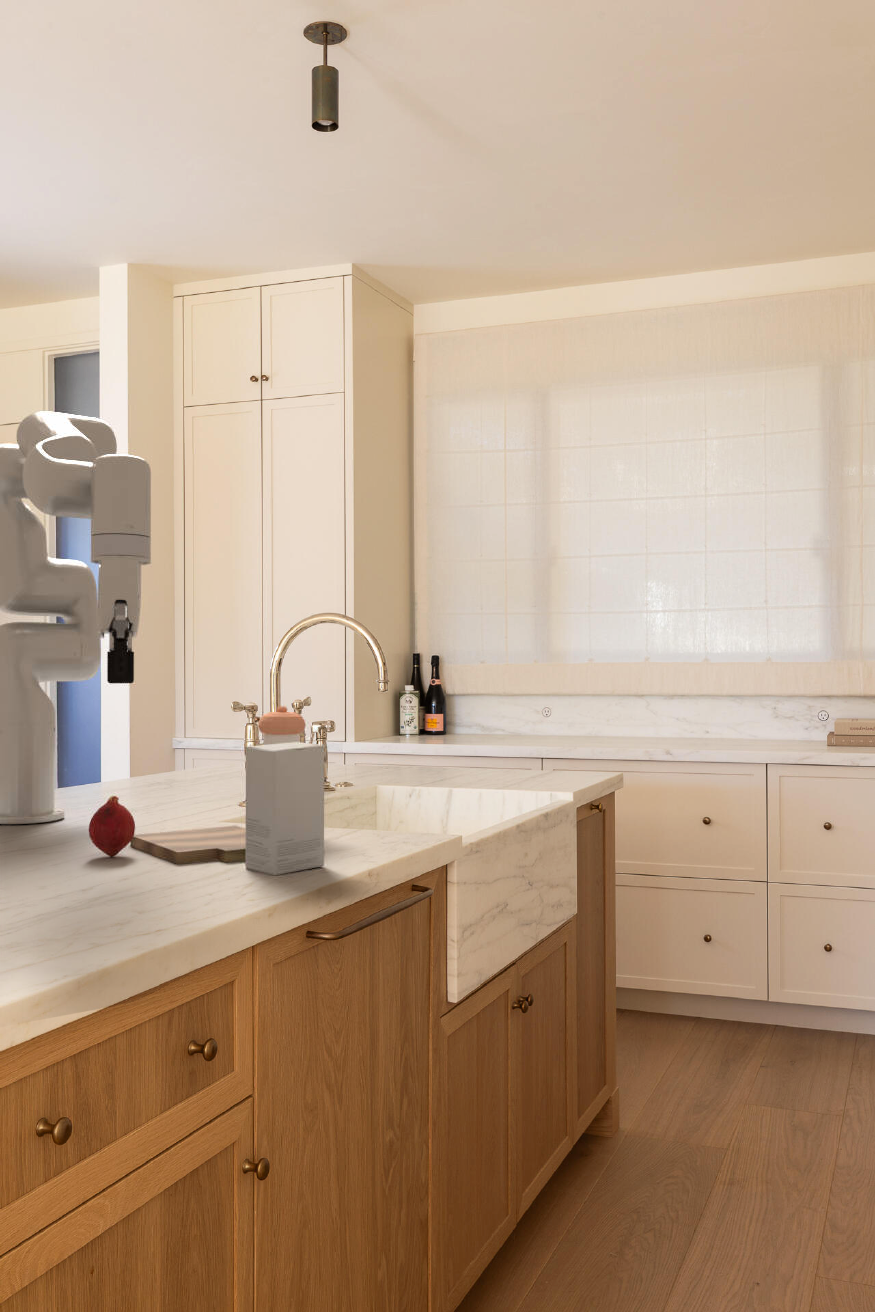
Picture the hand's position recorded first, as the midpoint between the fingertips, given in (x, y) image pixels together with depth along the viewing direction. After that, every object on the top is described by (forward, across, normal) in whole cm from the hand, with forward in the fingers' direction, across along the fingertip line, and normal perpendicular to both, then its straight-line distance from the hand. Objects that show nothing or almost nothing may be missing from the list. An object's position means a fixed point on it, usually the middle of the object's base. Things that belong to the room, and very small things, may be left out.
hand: (120, 683), depth 143 cm
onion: (+23, -3, -1) cm, 23 cm away
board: (+23, -5, +12) cm, 26 cm away
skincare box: (+24, +10, +20) cm, 32 cm away
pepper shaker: (+23, -16, +23) cm, 36 cm away
